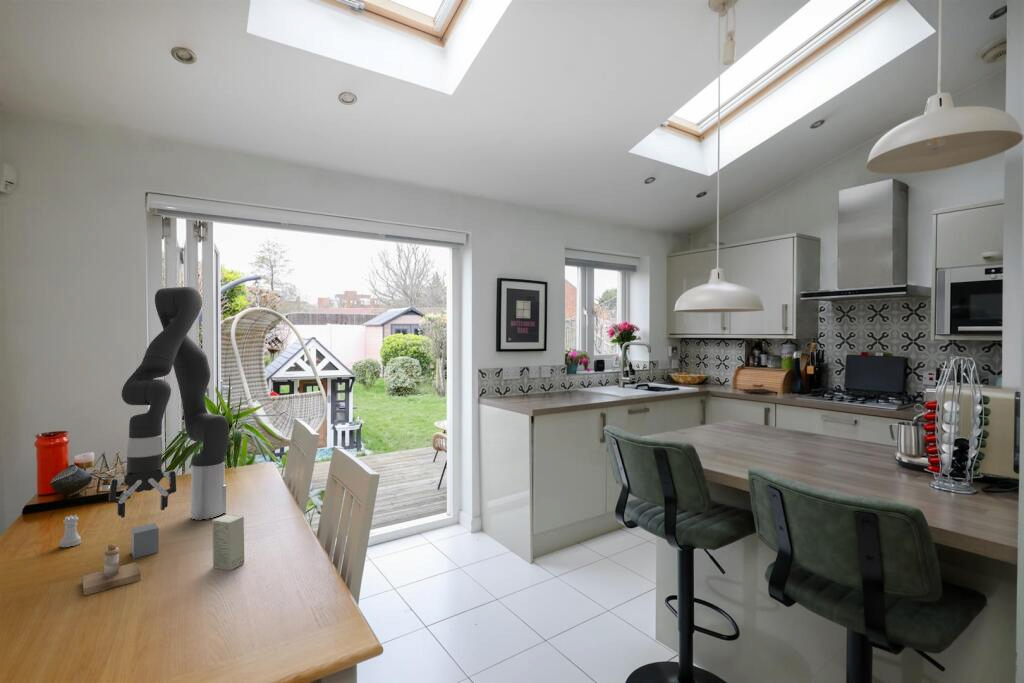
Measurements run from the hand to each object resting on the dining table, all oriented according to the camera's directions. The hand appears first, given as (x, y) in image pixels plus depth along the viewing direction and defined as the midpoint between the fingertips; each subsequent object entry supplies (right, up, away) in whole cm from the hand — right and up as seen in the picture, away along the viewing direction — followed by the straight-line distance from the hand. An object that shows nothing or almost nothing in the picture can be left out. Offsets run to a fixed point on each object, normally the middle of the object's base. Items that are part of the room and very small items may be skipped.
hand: (142, 513), depth 127 cm
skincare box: (+27, -11, -7) cm, 30 cm away
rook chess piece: (-24, -11, +4) cm, 26 cm away
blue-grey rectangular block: (0, -11, 0) cm, 11 cm away
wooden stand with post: (+5, -11, -15) cm, 19 cm away
